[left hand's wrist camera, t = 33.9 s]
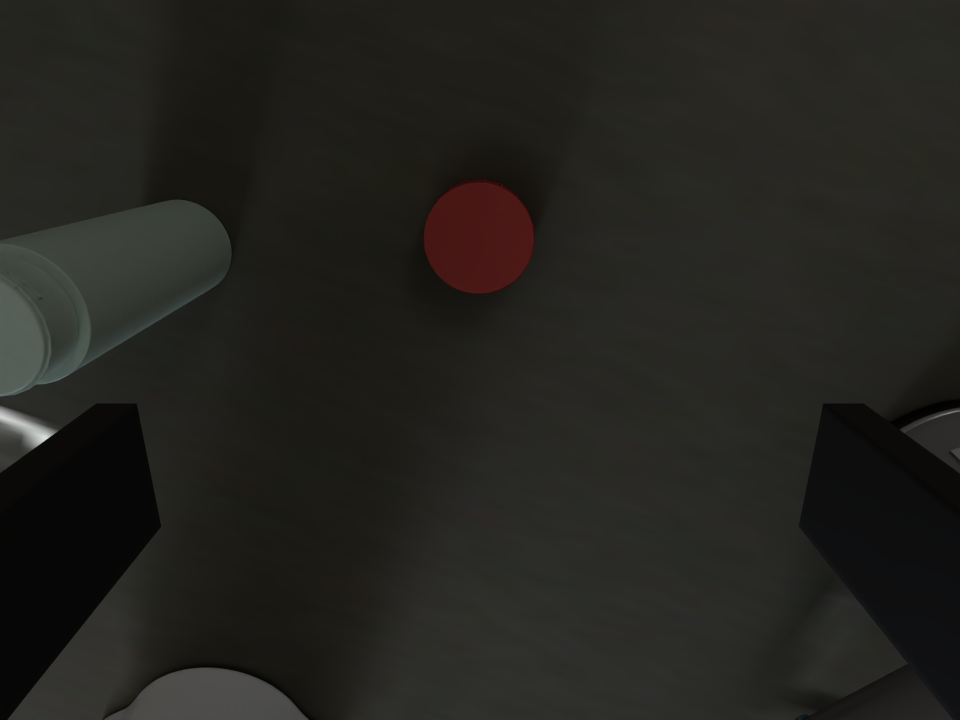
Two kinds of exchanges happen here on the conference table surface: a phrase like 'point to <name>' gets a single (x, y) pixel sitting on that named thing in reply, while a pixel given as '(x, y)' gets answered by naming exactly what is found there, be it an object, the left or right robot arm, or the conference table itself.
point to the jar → (100, 285)
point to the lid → (478, 236)
